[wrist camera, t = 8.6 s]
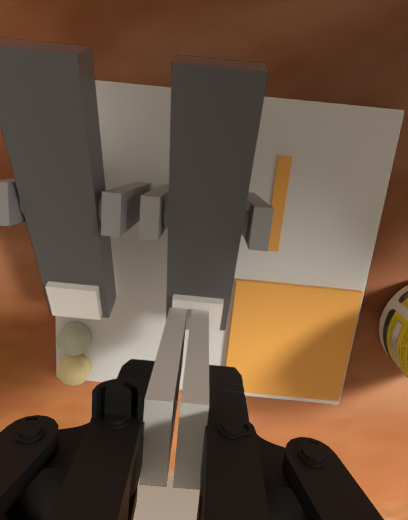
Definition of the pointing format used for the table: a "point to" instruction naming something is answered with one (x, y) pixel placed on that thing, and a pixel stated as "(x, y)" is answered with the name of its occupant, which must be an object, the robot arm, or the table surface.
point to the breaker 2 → (209, 178)
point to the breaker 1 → (59, 170)
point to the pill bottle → (396, 329)
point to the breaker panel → (241, 243)
